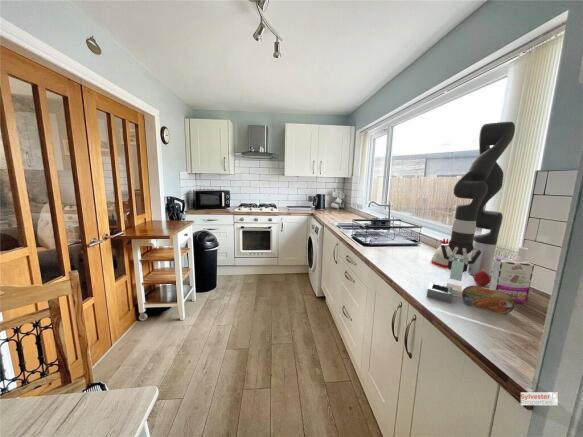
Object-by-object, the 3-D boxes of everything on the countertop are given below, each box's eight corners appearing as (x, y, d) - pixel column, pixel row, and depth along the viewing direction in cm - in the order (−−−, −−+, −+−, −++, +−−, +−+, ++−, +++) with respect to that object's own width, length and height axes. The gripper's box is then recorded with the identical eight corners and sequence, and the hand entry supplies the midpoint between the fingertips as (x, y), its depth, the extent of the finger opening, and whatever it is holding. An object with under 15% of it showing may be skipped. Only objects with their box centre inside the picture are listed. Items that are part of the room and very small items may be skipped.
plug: (450, 275, 102) (453, 255, 100) (461, 278, 100) (464, 257, 98) (449, 278, 99) (452, 257, 97) (461, 281, 96) (464, 260, 95)
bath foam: (526, 292, 104) (536, 248, 100) (523, 296, 99) (534, 251, 96) (505, 286, 109) (514, 244, 106) (502, 290, 105) (511, 247, 101)
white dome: (438, 258, 145) (441, 235, 143) (463, 266, 134) (468, 240, 132) (426, 262, 137) (430, 237, 135) (453, 270, 126) (457, 243, 124)
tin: (460, 305, 90) (464, 285, 89) (459, 301, 93) (463, 281, 92) (512, 317, 83) (517, 295, 82) (509, 313, 86) (514, 292, 85)
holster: (443, 287, 105) (444, 281, 104) (463, 292, 101) (464, 286, 100) (442, 293, 99) (443, 286, 99) (463, 299, 95) (464, 292, 95)
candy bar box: (517, 298, 98) (526, 260, 95) (526, 304, 93) (535, 264, 91) (486, 294, 101) (494, 257, 98) (494, 299, 96) (502, 261, 93)
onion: (491, 290, 105) (494, 273, 103) (476, 288, 106) (480, 271, 104) (483, 284, 110) (486, 268, 109) (469, 282, 111) (472, 266, 110)
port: (428, 290, 101) (430, 281, 101) (450, 296, 97) (452, 286, 96) (426, 297, 95) (427, 287, 94) (449, 304, 90) (451, 294, 90)
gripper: (485, 231, 94) (477, 272, 97) (443, 226, 102) (437, 263, 106) (486, 235, 88) (478, 278, 91) (442, 229, 97) (436, 268, 100)
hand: (456, 270), depth 99 cm, fingers closed on plug, 4 cm apart
